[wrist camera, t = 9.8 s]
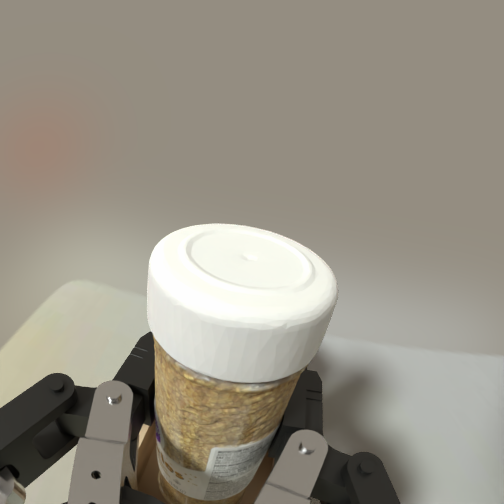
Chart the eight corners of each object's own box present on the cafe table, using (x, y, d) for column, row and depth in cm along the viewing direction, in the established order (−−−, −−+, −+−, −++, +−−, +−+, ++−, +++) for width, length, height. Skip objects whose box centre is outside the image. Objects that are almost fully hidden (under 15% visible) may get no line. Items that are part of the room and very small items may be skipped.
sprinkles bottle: (146, 460, 14) (133, 219, 8) (222, 441, 16) (277, 217, 10) (178, 531, 10) (187, 334, 5) (261, 504, 12) (382, 293, 7)
